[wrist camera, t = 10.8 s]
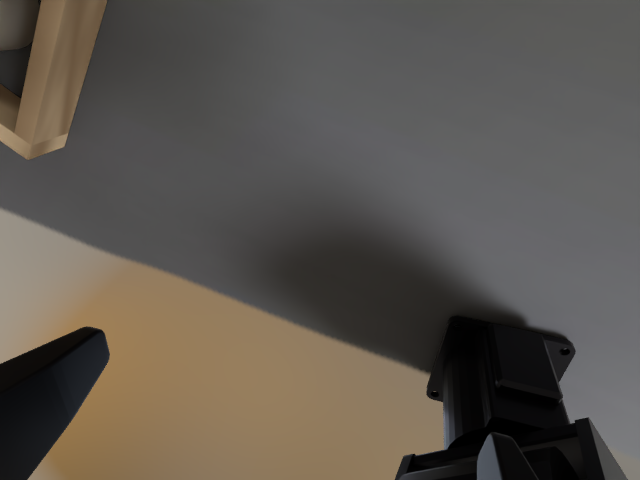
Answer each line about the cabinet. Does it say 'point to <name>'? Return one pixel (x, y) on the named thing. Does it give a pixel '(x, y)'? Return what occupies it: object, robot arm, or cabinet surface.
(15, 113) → the oak holder
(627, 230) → the cabinet surface
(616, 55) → the cabinet surface
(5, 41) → the paper roll
